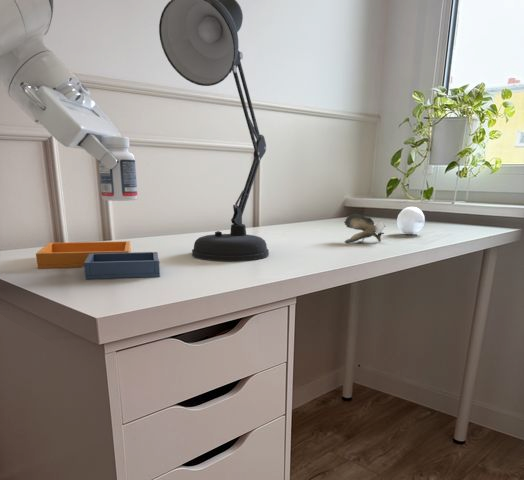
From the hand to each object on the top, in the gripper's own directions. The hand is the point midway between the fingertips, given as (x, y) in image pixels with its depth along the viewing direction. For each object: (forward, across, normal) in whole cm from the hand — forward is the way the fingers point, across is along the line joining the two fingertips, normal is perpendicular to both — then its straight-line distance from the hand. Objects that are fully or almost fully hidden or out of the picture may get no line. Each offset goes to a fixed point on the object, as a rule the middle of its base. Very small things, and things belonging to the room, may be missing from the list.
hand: (121, 166), depth 77 cm
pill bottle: (+3, 0, +4) cm, 5 cm away
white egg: (+55, +65, -32) cm, 91 cm away
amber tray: (+3, +16, +20) cm, 26 cm away
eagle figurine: (+43, +48, -20) cm, 68 cm away
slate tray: (+10, +5, +14) cm, 18 cm away
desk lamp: (+22, +24, +2) cm, 33 cm away
